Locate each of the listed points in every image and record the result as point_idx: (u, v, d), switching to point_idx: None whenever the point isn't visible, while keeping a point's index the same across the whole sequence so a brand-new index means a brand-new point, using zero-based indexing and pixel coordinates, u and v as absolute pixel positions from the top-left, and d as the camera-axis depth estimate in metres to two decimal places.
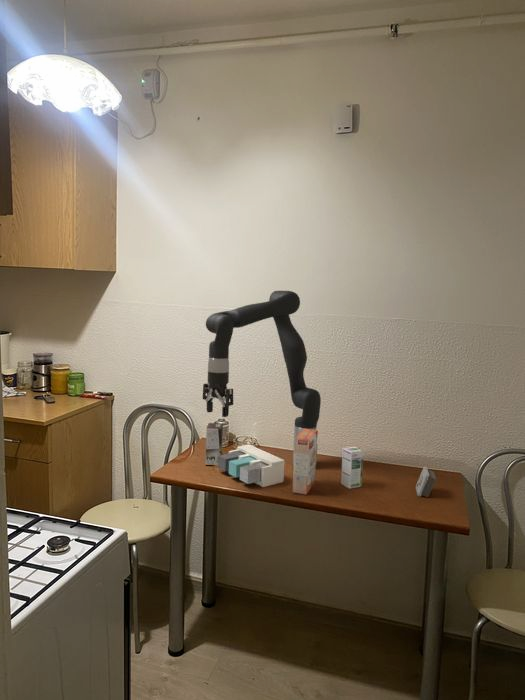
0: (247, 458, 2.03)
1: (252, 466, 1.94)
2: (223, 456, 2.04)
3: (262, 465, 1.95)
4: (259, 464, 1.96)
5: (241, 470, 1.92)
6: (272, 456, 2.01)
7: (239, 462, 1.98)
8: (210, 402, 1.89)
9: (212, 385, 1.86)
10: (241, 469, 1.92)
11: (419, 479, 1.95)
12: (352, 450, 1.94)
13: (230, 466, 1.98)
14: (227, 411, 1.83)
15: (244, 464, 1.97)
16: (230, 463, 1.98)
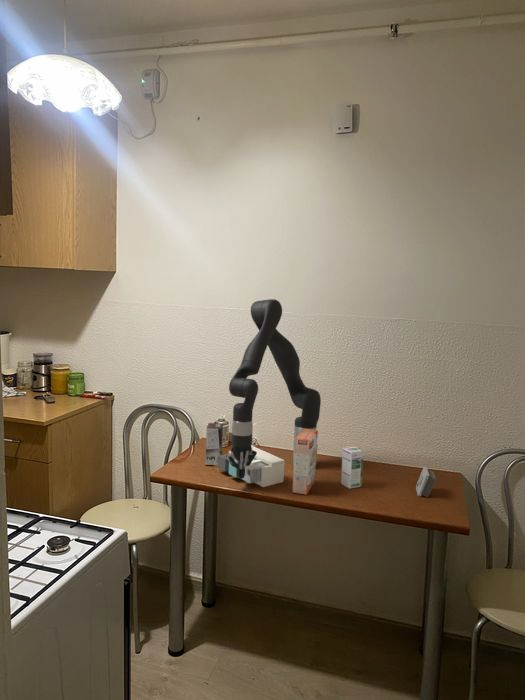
0: None
1: (254, 466, 1.94)
2: (223, 456, 2.04)
3: (264, 465, 1.96)
4: (261, 464, 1.97)
5: None
6: (272, 456, 2.01)
7: None
8: None
9: (239, 448, 1.87)
10: None
11: (419, 479, 1.95)
12: (352, 450, 1.94)
13: (230, 466, 1.98)
14: None
15: None
16: None
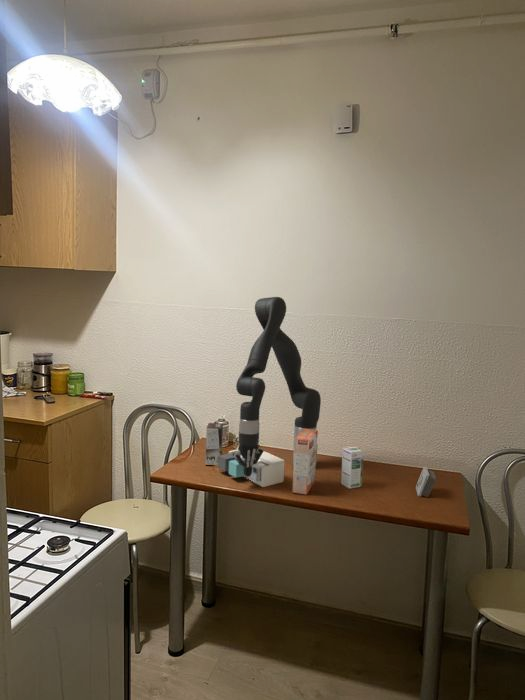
0: None
1: (260, 464, 1.96)
2: (223, 456, 2.04)
3: None
4: None
5: None
6: (272, 456, 2.01)
7: None
8: None
9: (246, 447, 1.89)
10: None
11: (419, 479, 1.95)
12: (352, 450, 1.94)
13: (230, 466, 1.98)
14: None
15: None
16: (230, 463, 1.98)
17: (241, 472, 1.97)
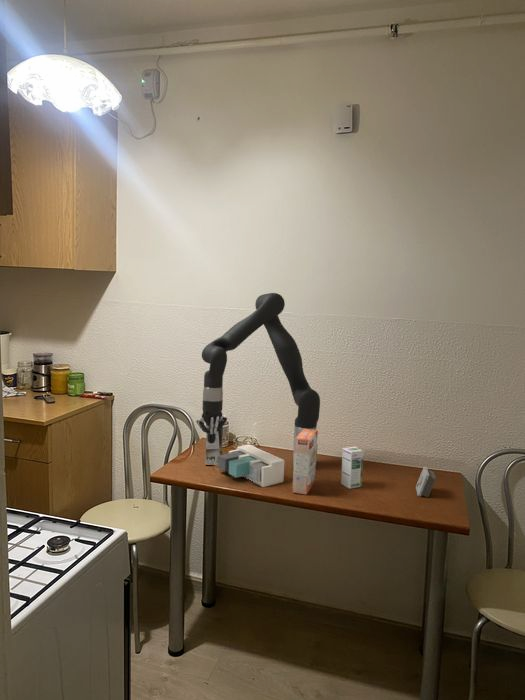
0: (247, 458, 2.03)
1: (260, 464, 1.96)
2: (223, 456, 2.04)
3: None
4: None
5: (250, 468, 1.95)
6: (272, 456, 2.01)
7: (239, 462, 1.98)
8: None
9: (209, 414, 1.94)
10: (250, 467, 1.95)
11: (419, 479, 1.95)
12: (352, 450, 1.94)
13: (230, 466, 1.98)
14: None
15: (244, 464, 1.97)
16: (230, 463, 1.98)
17: (241, 472, 1.97)
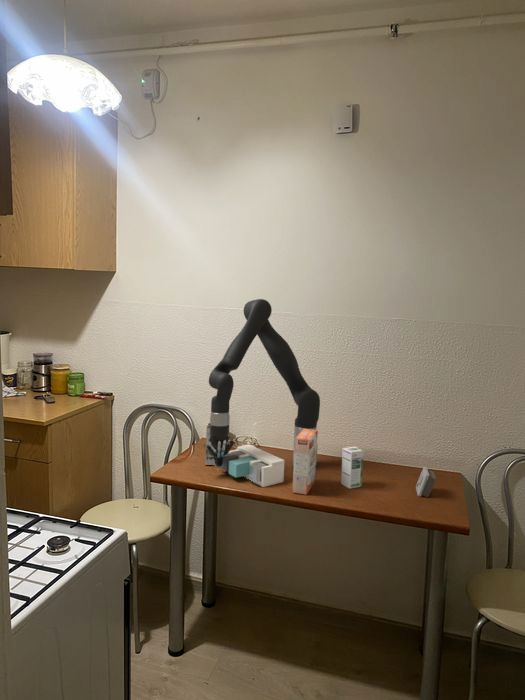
0: (247, 458, 2.03)
1: (260, 464, 1.96)
2: (225, 456, 2.04)
3: None
4: None
5: (250, 468, 1.95)
6: (272, 456, 2.01)
7: (239, 462, 1.98)
8: None
9: (217, 438, 1.99)
10: (250, 467, 1.95)
11: (419, 479, 1.95)
12: (352, 450, 1.94)
13: (230, 466, 1.98)
14: None
15: (244, 464, 1.97)
16: (230, 463, 1.98)
17: (241, 472, 1.97)
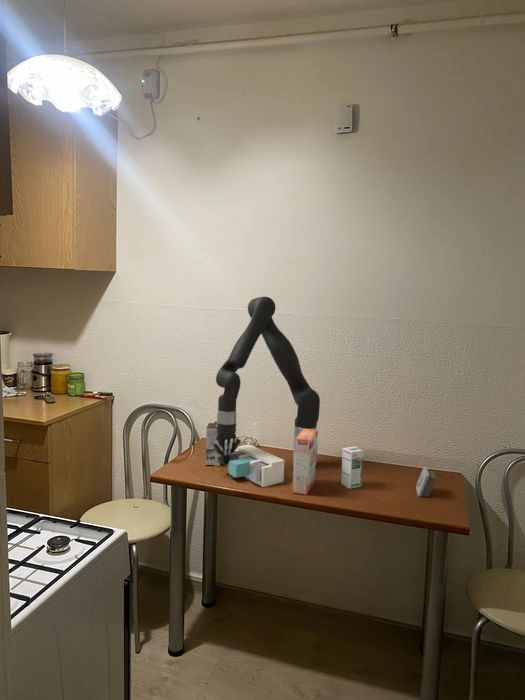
0: (247, 458, 2.03)
1: (260, 464, 1.96)
2: (231, 454, 2.06)
3: None
4: None
5: (250, 468, 1.95)
6: (272, 456, 2.01)
7: (239, 462, 1.98)
8: None
9: (224, 436, 2.01)
10: (250, 467, 1.95)
11: (419, 479, 1.95)
12: (352, 450, 1.94)
13: (230, 466, 1.98)
14: None
15: (244, 464, 1.97)
16: (230, 463, 1.98)
17: (241, 472, 1.97)
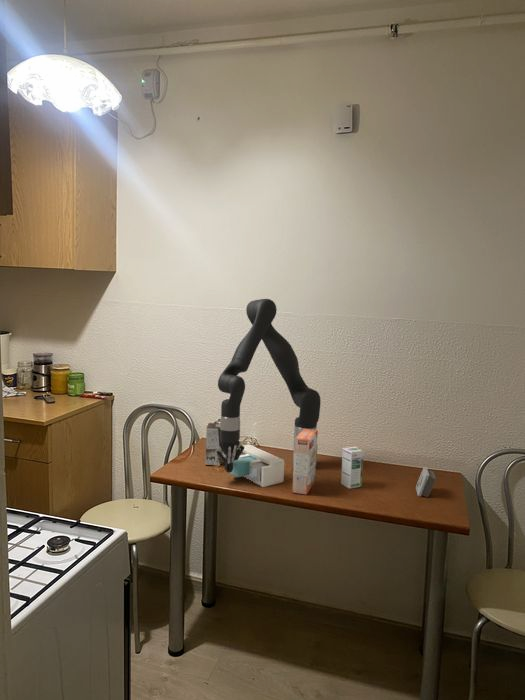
0: (249, 458, 2.03)
1: (260, 464, 1.96)
2: None
3: None
4: None
5: (250, 468, 1.95)
6: (272, 456, 2.01)
7: (240, 462, 1.98)
8: None
9: (227, 443, 1.93)
10: (250, 467, 1.95)
11: (419, 479, 1.95)
12: (352, 450, 1.94)
13: None
14: None
15: (245, 464, 1.98)
16: None
17: (243, 471, 1.97)
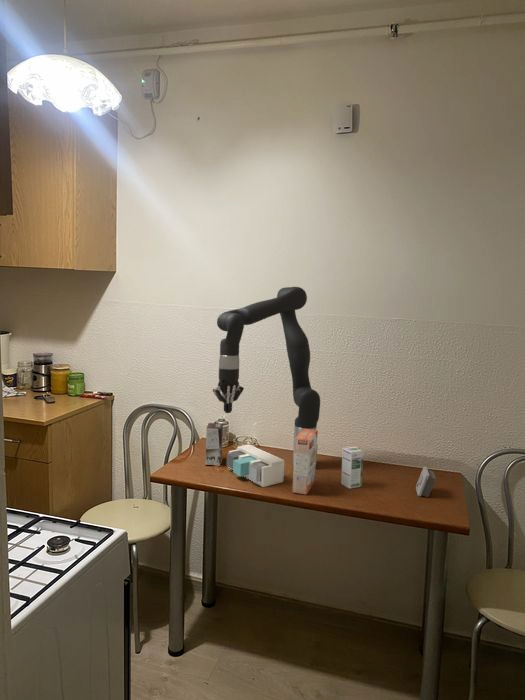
0: (251, 457, 2.04)
1: (260, 464, 1.96)
2: (231, 454, 2.06)
3: None
4: None
5: (250, 468, 1.95)
6: (272, 456, 2.01)
7: (243, 461, 1.99)
8: None
9: (226, 383, 1.89)
10: (250, 467, 1.95)
11: (419, 479, 1.95)
12: (352, 450, 1.94)
13: (234, 465, 1.99)
14: None
15: (248, 463, 1.99)
16: (234, 462, 1.99)
17: (245, 471, 1.98)
